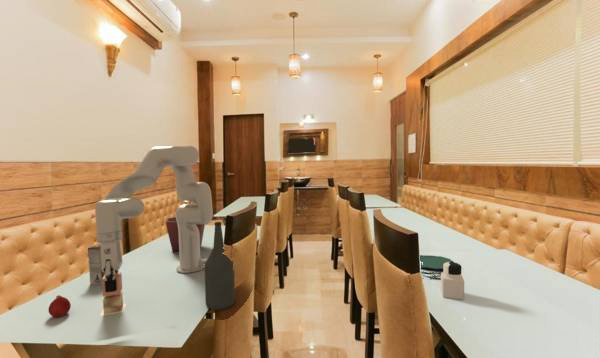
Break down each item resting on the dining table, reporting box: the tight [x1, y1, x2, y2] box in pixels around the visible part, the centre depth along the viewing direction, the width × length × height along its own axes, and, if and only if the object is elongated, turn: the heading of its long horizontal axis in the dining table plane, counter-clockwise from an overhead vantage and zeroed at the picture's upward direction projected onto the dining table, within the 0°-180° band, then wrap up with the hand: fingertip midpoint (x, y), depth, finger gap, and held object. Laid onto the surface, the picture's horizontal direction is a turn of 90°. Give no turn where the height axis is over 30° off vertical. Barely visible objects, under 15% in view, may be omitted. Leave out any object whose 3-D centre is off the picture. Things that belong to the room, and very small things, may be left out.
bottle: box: [203, 221, 236, 311], centre depth 112 cm, size 10×10×30 cm
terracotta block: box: [101, 271, 123, 298], centre depth 107 cm, size 5×5×6 cm
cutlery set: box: [419, 254, 454, 280], centre depth 146 cm, size 20×30×2 cm, turn 163°
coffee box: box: [87, 243, 105, 286], centre depth 137 cm, size 9×6×16 cm
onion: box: [48, 294, 72, 318], centre depth 104 cm, size 6×6×8 cm
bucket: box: [165, 216, 206, 254], centre depth 186 cm, size 24×22×25 cm
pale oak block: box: [102, 290, 124, 314], centre depth 107 cm, size 5×5×5 cm
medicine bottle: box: [440, 261, 465, 300], centre depth 116 cm, size 7×7×12 cm
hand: (112, 287), depth 107 cm, fingers closed on terracotta block, 5 cm apart
